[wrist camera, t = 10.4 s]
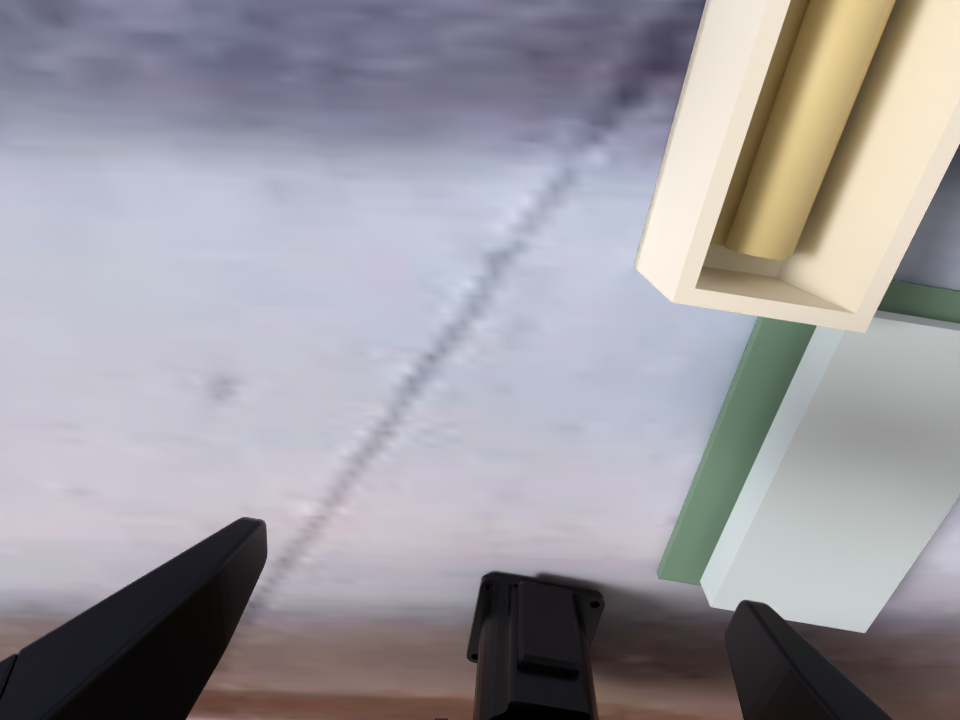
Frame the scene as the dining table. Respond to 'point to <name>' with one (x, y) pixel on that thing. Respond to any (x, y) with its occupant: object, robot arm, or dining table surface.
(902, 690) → the dining table surface
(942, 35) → the pencil box
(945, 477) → the lid
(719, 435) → the felt mat
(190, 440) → the dining table surface
